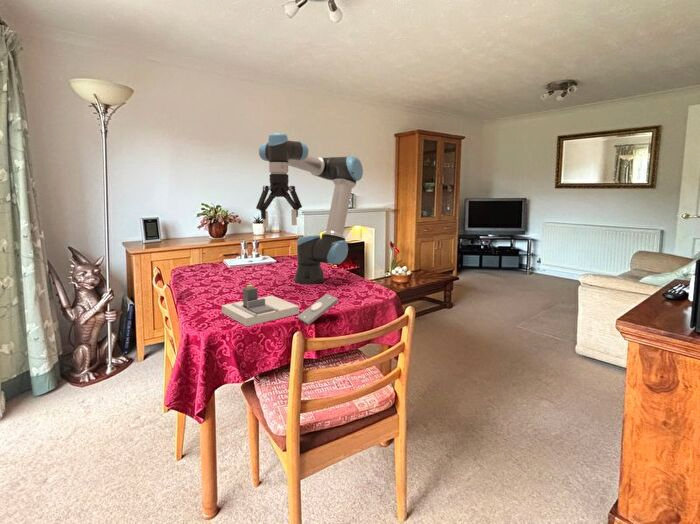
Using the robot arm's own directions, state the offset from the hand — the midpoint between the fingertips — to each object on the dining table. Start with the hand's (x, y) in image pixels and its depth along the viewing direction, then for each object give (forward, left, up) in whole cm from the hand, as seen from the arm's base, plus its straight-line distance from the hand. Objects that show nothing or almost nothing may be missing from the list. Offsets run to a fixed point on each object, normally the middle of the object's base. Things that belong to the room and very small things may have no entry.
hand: (280, 226), depth 167 cm
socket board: (+10, -16, -32) cm, 37 cm away
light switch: (+29, -3, -32) cm, 44 cm away
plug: (+8, -19, -32) cm, 38 cm away
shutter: (+15, -19, -29) cm, 38 cm away
